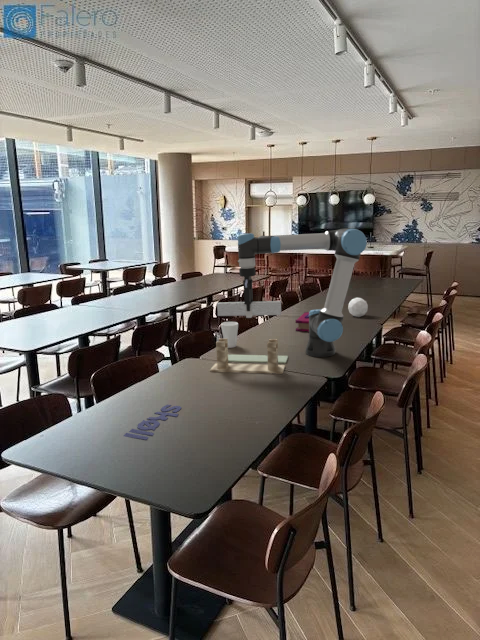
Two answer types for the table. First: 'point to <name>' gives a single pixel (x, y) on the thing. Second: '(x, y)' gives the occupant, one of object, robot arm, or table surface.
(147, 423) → the signage
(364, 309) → the geodesic sphere
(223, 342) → the rail stand
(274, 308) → the rail bar
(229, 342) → the foam cup
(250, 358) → the green board
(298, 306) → the table surface
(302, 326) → the book
